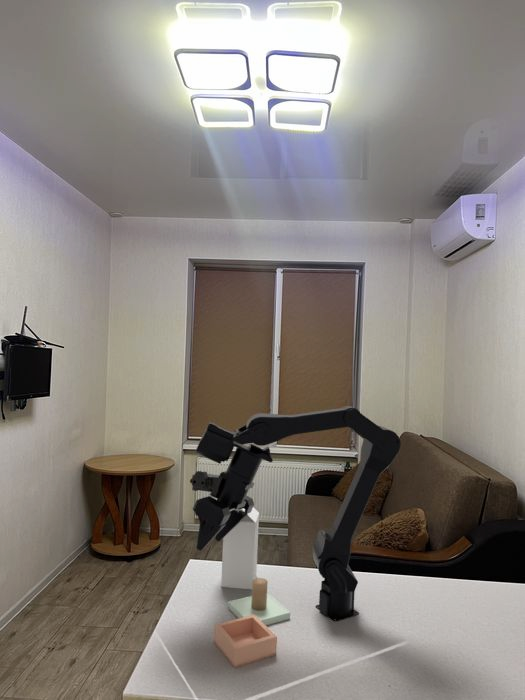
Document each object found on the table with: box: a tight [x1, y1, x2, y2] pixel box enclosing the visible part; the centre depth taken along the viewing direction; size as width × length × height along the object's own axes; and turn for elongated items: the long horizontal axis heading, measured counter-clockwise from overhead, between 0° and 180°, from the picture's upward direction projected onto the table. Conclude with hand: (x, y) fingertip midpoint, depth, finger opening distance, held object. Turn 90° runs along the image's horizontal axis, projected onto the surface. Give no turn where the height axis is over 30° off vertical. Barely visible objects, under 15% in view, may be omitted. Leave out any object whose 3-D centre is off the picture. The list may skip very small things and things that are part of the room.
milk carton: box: [220, 506, 260, 590], centre depth 110 cm, size 7×7×19 cm
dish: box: [213, 614, 278, 669], centre depth 84 cm, size 8×8×4 cm
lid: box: [227, 577, 291, 626], centre depth 96 cm, size 9×9×6 cm
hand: (208, 544), depth 97 cm, fingers open, 9 cm apart
